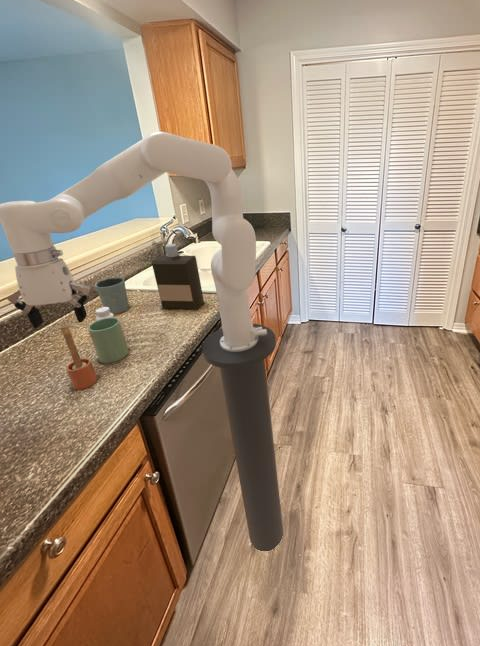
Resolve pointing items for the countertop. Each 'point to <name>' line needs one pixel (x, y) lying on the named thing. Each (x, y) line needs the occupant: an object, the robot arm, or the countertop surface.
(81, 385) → the holder
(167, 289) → the bottle
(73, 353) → the brush
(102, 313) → the supplement bottle
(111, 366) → the countertop surface
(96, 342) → the tumbler
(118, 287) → the blue-gray pot
